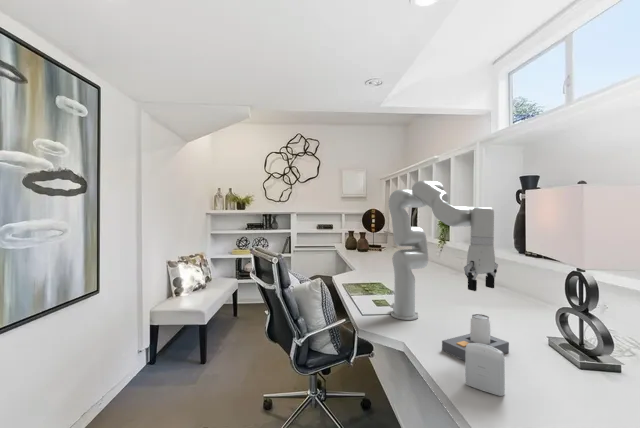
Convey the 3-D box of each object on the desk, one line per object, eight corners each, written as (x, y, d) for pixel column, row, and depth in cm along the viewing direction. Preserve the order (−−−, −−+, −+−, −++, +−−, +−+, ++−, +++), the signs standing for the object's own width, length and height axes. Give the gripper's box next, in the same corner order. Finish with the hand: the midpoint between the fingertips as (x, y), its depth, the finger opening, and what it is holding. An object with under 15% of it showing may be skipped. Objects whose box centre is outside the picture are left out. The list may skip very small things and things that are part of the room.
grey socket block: (442, 350, 121) (442, 339, 121) (478, 340, 130) (478, 330, 130) (471, 363, 110) (471, 351, 110) (508, 352, 119) (508, 341, 119)
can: (479, 354, 118) (479, 320, 117) (466, 346, 124) (466, 314, 124) (494, 352, 119) (494, 318, 119) (480, 345, 126) (481, 313, 125)
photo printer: (462, 385, 97) (463, 342, 96) (468, 379, 100) (468, 338, 100) (502, 398, 90) (502, 352, 89) (506, 392, 93) (507, 348, 93)
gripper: (487, 239, 128) (487, 284, 129) (456, 241, 120) (455, 289, 121) (506, 241, 122) (506, 288, 122) (475, 243, 114) (474, 293, 114)
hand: (481, 288), depth 121 cm, fingers open, 9 cm apart
